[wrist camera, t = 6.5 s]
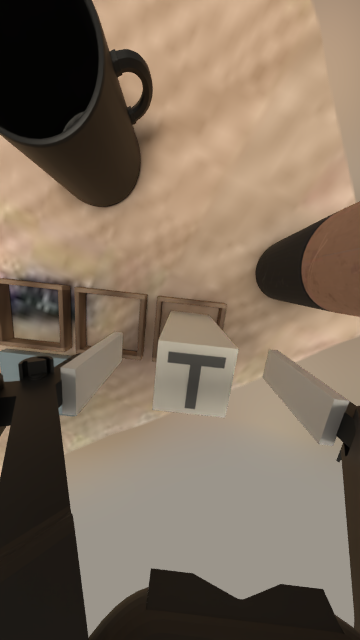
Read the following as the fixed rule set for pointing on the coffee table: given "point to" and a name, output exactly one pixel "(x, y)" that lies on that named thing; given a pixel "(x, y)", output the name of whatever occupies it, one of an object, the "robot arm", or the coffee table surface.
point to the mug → (70, 97)
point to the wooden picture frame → (3, 335)
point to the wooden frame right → (221, 306)
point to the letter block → (193, 366)
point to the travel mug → (317, 265)
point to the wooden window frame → (81, 319)
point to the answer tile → (11, 359)
